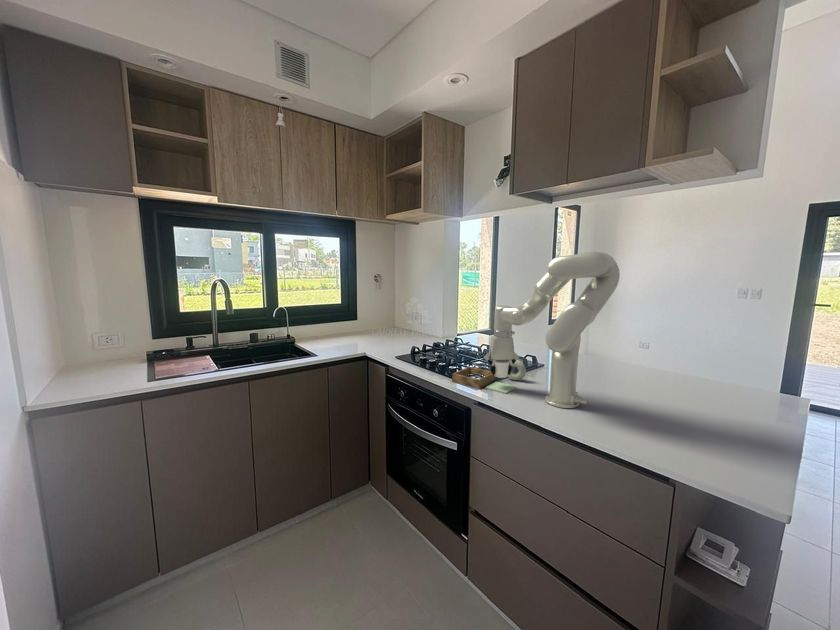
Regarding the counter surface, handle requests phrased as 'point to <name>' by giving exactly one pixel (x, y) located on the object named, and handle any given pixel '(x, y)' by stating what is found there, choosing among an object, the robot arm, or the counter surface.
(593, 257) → the robot arm
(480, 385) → the walnut box
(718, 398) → the counter surface
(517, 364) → the donut
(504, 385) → the green mat
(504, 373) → the white cylinder
